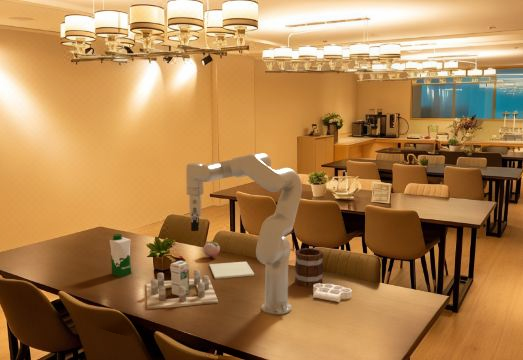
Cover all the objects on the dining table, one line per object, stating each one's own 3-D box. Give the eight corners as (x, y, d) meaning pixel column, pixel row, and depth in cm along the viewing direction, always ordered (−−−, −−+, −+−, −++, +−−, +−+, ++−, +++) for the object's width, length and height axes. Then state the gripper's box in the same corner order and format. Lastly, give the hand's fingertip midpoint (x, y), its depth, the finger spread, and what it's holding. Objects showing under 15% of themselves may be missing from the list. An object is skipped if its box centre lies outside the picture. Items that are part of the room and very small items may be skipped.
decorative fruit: (200, 259, 276) (200, 241, 274) (206, 254, 283) (206, 238, 282) (216, 260, 273) (216, 243, 271) (221, 256, 281) (221, 239, 279)
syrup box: (180, 296, 222) (179, 265, 220) (171, 293, 226) (170, 263, 224) (189, 292, 227) (189, 262, 224) (180, 289, 230) (179, 259, 228)
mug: (321, 288, 233) (322, 257, 231) (292, 285, 236) (293, 255, 233) (324, 274, 252) (325, 245, 250) (298, 272, 255) (298, 244, 252)
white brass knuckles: (306, 298, 222) (317, 287, 235) (345, 305, 214) (354, 293, 227) (306, 290, 221) (317, 280, 234) (345, 297, 213) (355, 286, 226)
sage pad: (254, 275, 249) (254, 273, 249) (214, 278, 245) (214, 276, 245) (246, 263, 269) (246, 261, 269) (209, 266, 264) (209, 264, 264)
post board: (218, 302, 215) (217, 287, 214) (147, 309, 208) (146, 293, 207) (208, 279, 244) (208, 265, 243) (146, 284, 237) (145, 270, 236)
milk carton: (123, 269, 258) (121, 232, 255) (134, 273, 252) (132, 235, 249) (108, 274, 251) (107, 236, 248) (120, 278, 245) (118, 239, 242)
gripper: (203, 194, 213) (203, 233, 215) (203, 187, 230) (203, 223, 232) (185, 194, 212) (185, 233, 215) (187, 187, 229) (187, 223, 232)
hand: (195, 228), depth 224 cm, fingers open, 9 cm apart
